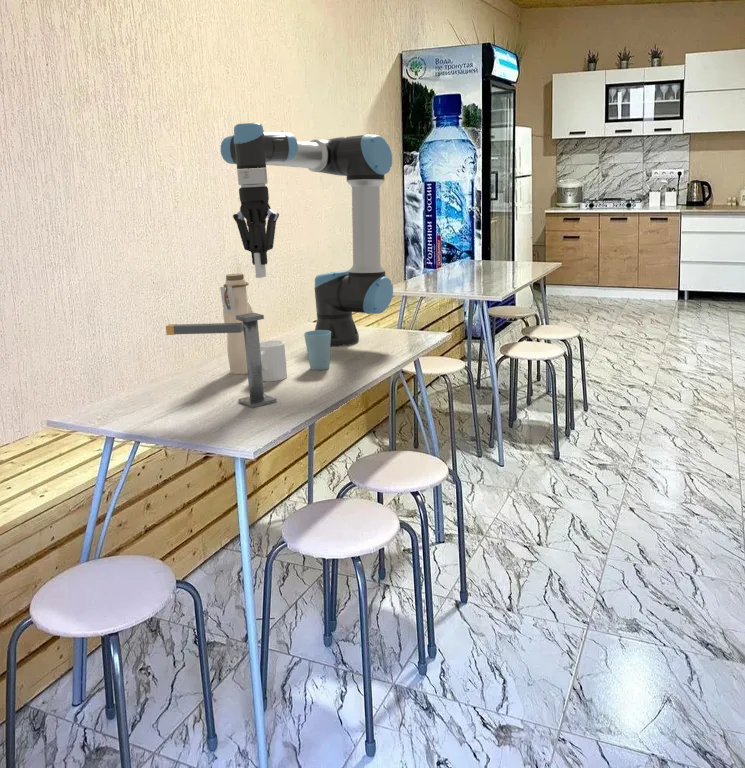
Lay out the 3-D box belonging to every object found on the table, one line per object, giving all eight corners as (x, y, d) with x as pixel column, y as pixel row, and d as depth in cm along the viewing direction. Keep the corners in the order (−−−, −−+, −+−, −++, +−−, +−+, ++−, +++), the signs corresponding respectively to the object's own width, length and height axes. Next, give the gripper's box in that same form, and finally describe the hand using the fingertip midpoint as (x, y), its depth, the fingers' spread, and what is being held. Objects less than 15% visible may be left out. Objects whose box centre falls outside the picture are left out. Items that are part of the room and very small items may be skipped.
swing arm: (243, 330, 193) (242, 322, 193) (240, 333, 191) (239, 324, 190) (170, 332, 196) (169, 324, 195) (166, 335, 193) (165, 326, 193)
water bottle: (252, 376, 222) (242, 277, 214) (222, 376, 224) (212, 277, 216) (264, 367, 232) (255, 272, 224) (235, 367, 233) (225, 272, 226)
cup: (304, 371, 224) (301, 335, 222) (309, 364, 232) (307, 330, 229) (330, 371, 223) (328, 335, 221) (334, 364, 231) (332, 329, 228)
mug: (248, 385, 212) (244, 350, 210) (264, 374, 224) (261, 340, 221) (276, 385, 211) (273, 350, 208) (290, 374, 222) (288, 340, 219)
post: (263, 396, 201) (255, 311, 195) (276, 401, 196) (269, 314, 190) (238, 402, 197) (230, 315, 191) (251, 407, 192) (243, 319, 186)
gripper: (223, 187, 203) (232, 278, 209) (267, 185, 197) (275, 279, 204) (239, 186, 209) (248, 274, 216) (282, 184, 204) (289, 275, 210)
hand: (261, 276), depth 210 cm, fingers closed
